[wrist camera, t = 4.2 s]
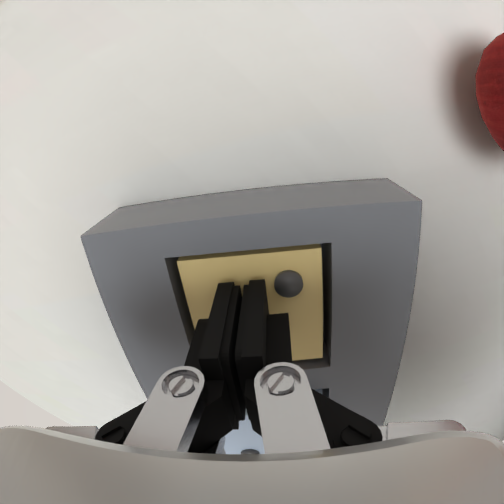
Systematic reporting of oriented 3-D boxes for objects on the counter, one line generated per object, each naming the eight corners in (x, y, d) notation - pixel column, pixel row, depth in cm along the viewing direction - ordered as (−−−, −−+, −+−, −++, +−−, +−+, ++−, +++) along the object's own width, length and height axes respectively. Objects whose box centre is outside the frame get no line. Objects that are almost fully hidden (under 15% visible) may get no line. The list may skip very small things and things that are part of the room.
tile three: (313, 227, 12) (322, 250, 10) (317, 328, 14) (323, 360, 12) (189, 239, 13) (175, 263, 11) (212, 335, 15) (204, 368, 13)
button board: (387, 178, 12) (422, 200, 9) (354, 453, 21) (359, 487, 18) (118, 207, 14) (80, 236, 10) (212, 461, 23) (207, 494, 19)
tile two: (320, 377, 14) (325, 413, 12) (318, 431, 16) (321, 462, 14) (216, 383, 14) (209, 418, 12) (233, 436, 16) (229, 466, 14)
